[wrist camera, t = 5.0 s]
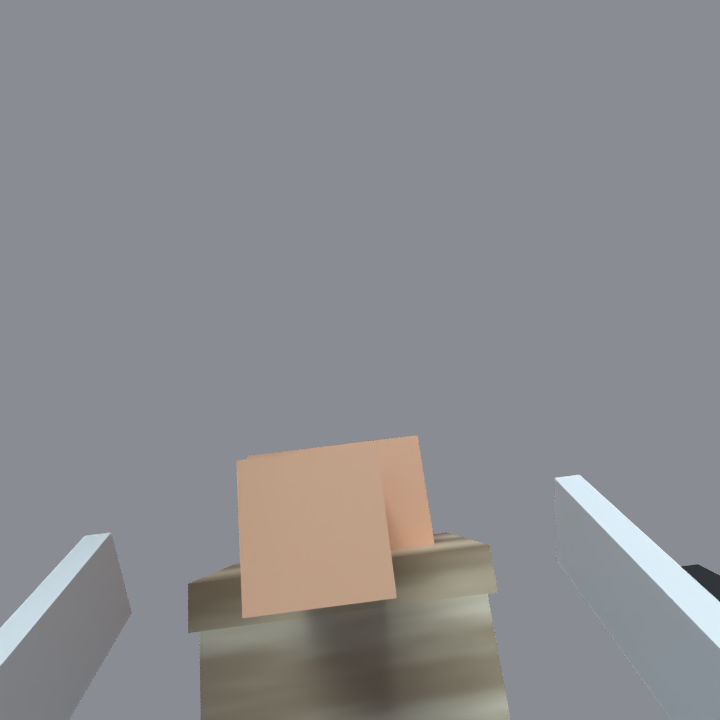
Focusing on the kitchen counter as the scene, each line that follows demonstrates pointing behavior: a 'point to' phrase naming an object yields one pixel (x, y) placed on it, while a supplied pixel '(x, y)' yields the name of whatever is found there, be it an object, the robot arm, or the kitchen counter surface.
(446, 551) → the pedestal
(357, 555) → the t block
